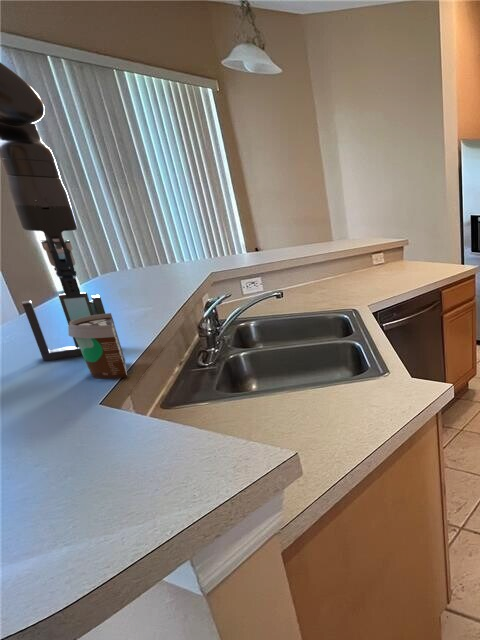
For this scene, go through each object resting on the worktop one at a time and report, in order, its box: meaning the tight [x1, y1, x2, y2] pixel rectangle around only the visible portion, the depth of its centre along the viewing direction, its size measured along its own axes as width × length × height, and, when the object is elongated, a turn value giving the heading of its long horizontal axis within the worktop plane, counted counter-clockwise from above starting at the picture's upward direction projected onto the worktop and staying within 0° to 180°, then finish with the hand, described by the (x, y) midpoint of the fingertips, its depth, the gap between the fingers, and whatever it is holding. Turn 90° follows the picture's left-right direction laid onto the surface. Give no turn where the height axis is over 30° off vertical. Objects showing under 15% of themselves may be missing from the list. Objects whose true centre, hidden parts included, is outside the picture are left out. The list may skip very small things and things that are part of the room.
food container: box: [67, 313, 128, 380], centre depth 81 cm, size 12×6×10 cm, turn 40°
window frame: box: [21, 294, 106, 362], centre depth 90 cm, size 11×3×12 cm, turn 136°
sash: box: [57, 291, 94, 348], centre depth 90 cm, size 4×1×15 cm, turn 136°
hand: (73, 295), depth 89 cm, fingers closed
